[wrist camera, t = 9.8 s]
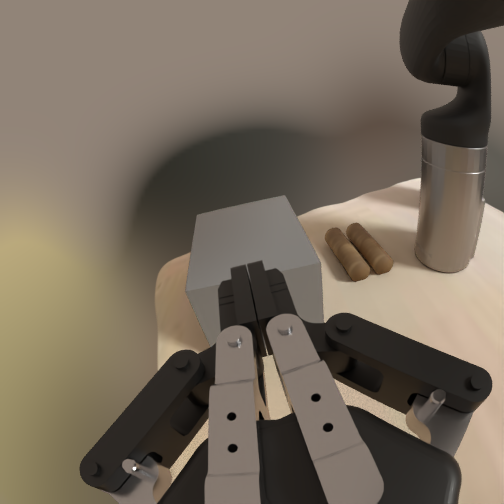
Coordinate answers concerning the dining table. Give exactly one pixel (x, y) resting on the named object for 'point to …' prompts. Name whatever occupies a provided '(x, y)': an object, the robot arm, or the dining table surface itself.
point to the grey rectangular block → (252, 257)
